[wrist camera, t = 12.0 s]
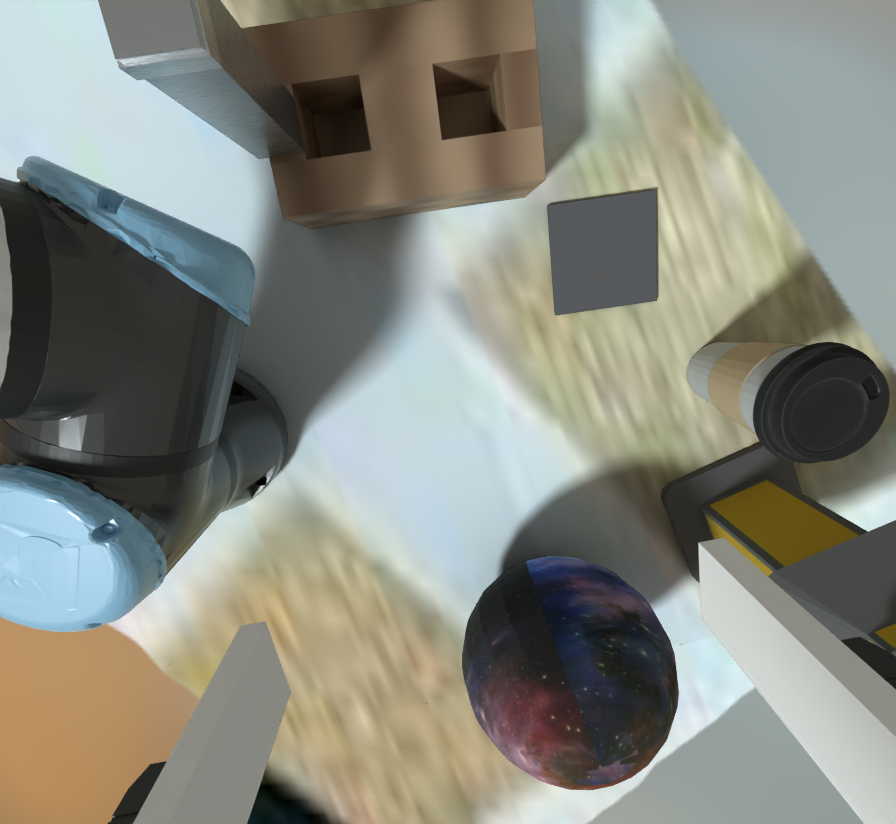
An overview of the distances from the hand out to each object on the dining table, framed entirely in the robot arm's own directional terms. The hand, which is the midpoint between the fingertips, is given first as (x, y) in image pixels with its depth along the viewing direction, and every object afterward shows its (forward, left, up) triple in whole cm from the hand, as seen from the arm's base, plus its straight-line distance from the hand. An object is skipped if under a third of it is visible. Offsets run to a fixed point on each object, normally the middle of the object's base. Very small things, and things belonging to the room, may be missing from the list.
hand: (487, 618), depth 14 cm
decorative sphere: (+7, -27, -34) cm, 45 cm away
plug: (-10, +22, -26) cm, 35 cm away
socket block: (-1, +22, -34) cm, 41 cm away
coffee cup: (+27, -3, -34) cm, 44 cm away
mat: (+16, +10, -34) cm, 39 cm away
